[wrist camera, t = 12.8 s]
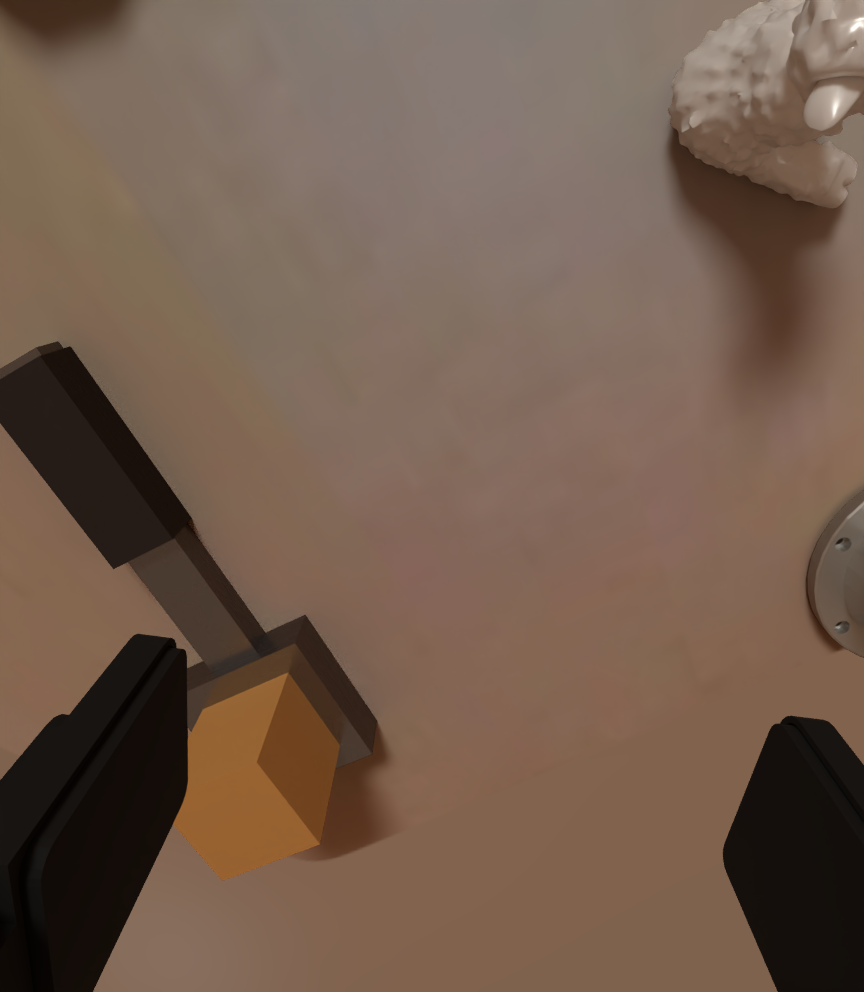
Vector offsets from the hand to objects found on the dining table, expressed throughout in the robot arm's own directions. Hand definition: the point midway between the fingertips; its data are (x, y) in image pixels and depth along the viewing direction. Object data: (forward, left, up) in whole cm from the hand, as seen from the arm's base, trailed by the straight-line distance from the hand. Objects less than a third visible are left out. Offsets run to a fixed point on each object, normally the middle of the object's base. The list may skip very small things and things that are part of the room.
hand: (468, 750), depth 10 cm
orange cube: (+4, +22, -23) cm, 33 cm away
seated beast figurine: (-9, -17, -27) cm, 33 cm away
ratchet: (+11, +15, -26) cm, 32 cm away
